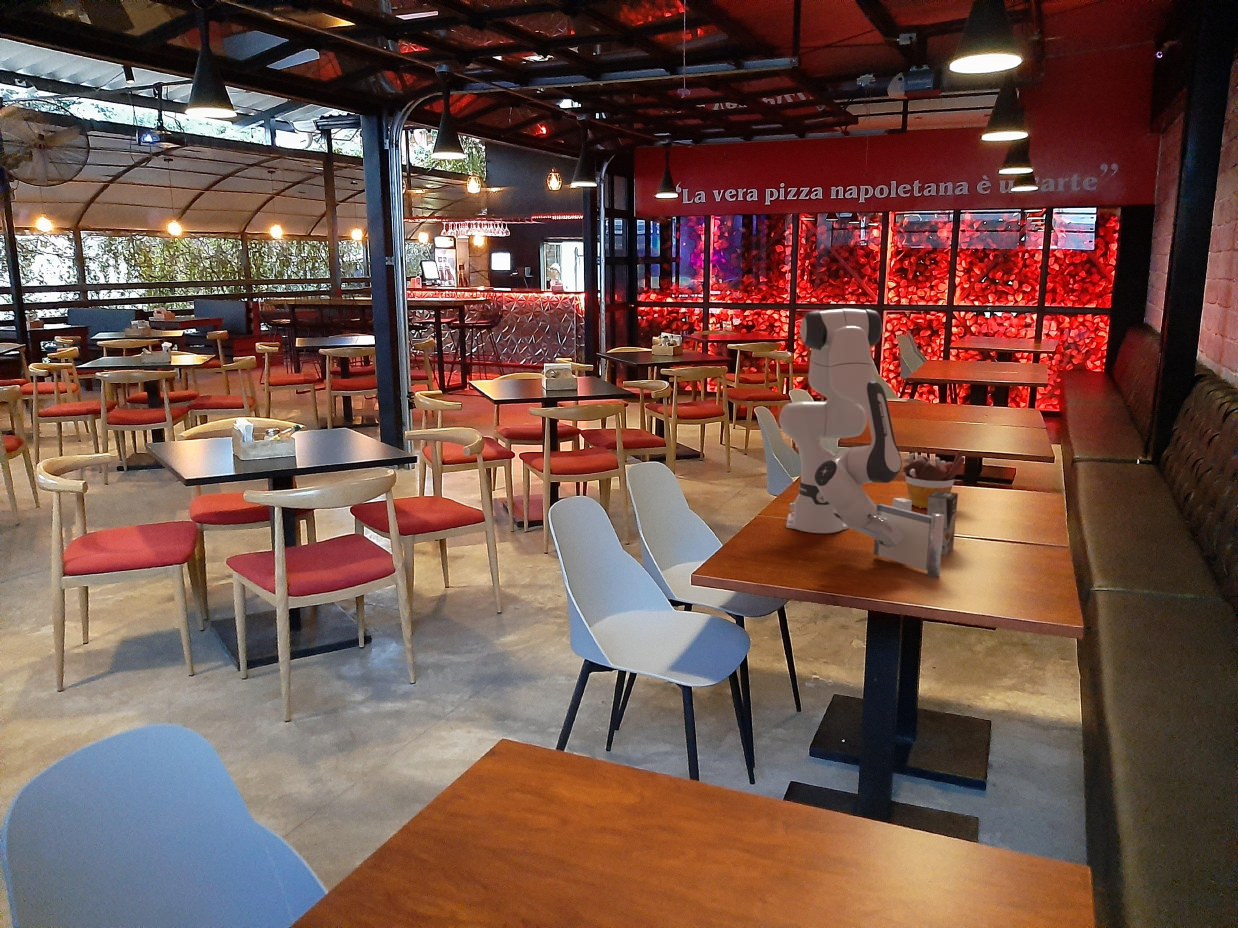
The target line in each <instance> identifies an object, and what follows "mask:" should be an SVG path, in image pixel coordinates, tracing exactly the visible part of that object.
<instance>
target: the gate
mask: <svg viewBox="0 0 1238 928" xmlns="http://www.w3.org/2000/svg"><path fill="white" fill-rule="evenodd" d="M876 507H877V511H876V515H878V516H881V517H884V518H886V519H888V520H889V521H890V522H891V523H893V524H894V526H895V527H896V528H897V529H898V530H899V531H900V532H901V533H902V534H903V536H904V538H903V540H902V541H901V542H900V543H899V544H898V545H897V546H896V547H894V546H891V547H890V548H887V547H885V546H883V545H880V544H879V543H878V542H877V541H876V540H875V539H874V544H873V555H874V556H877V557H881V558H884V559H887V560H891V561H893V562H897V563H900V564H903V565H907V566H910V567H914V568H916V569H919V570H922V571H927V570H928V557H929V544H930V532H931V519H932V516H928V515H927V514H923V513H920V512H915V511H912V510H911V511H908V510H904V509H900V508H896V507H893V505H887V504H883V503H877V504H876Z"/></svg>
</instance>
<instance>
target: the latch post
mask: <svg viewBox="0 0 1238 928" xmlns="http://www.w3.org/2000/svg"><path fill="white" fill-rule="evenodd" d="M892 507H896V508H900V509H904V510H908V511H912V507H913V506H912V501H911V500H909V499H907V498H904V497H895V498H893V499H892Z"/></svg>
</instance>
